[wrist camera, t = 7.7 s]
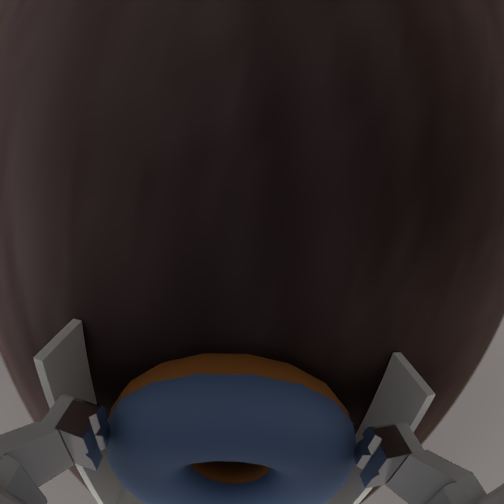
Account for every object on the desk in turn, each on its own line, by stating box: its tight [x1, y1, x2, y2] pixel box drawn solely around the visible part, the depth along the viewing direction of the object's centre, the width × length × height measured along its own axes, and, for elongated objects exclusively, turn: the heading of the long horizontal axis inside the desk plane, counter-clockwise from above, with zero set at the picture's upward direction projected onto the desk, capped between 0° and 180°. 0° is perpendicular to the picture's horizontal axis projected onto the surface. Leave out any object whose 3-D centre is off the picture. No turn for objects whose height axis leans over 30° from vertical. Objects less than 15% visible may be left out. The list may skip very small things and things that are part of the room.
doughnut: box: [105, 353, 356, 504], centre depth 9 cm, size 10×10×5 cm
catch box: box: [33, 319, 436, 504], centre depth 10 cm, size 13×13×3 cm
